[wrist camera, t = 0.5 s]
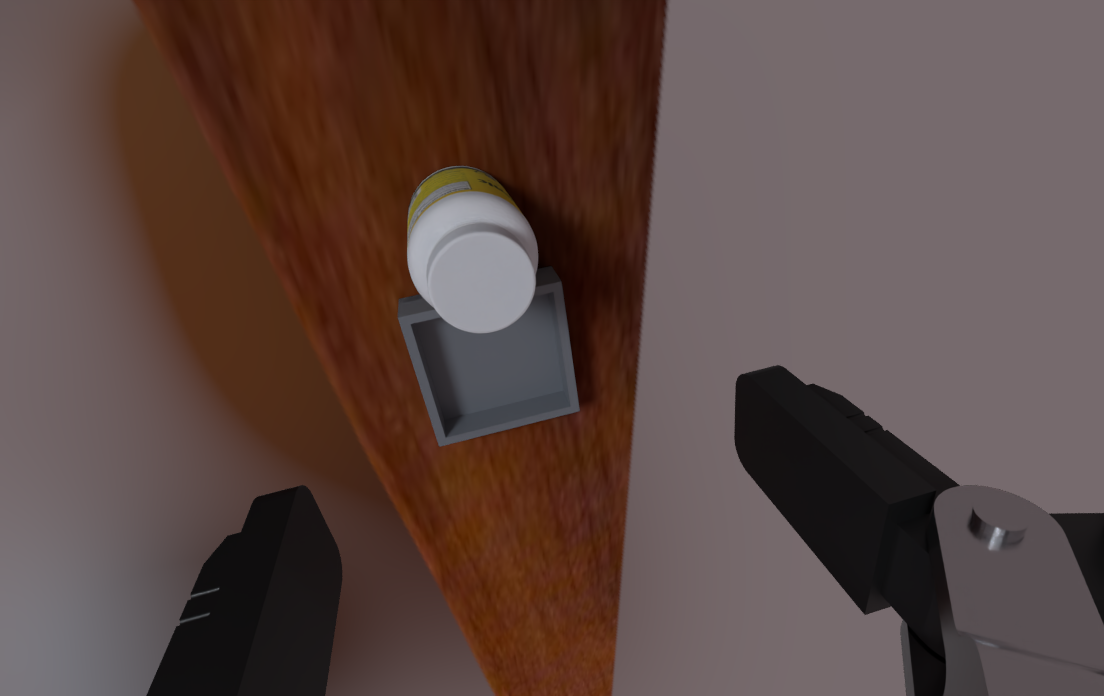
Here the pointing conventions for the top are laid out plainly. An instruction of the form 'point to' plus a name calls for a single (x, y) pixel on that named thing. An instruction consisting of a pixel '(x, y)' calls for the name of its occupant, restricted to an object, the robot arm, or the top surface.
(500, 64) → the top surface
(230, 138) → the top surface
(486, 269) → the supplement bottle
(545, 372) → the tray
